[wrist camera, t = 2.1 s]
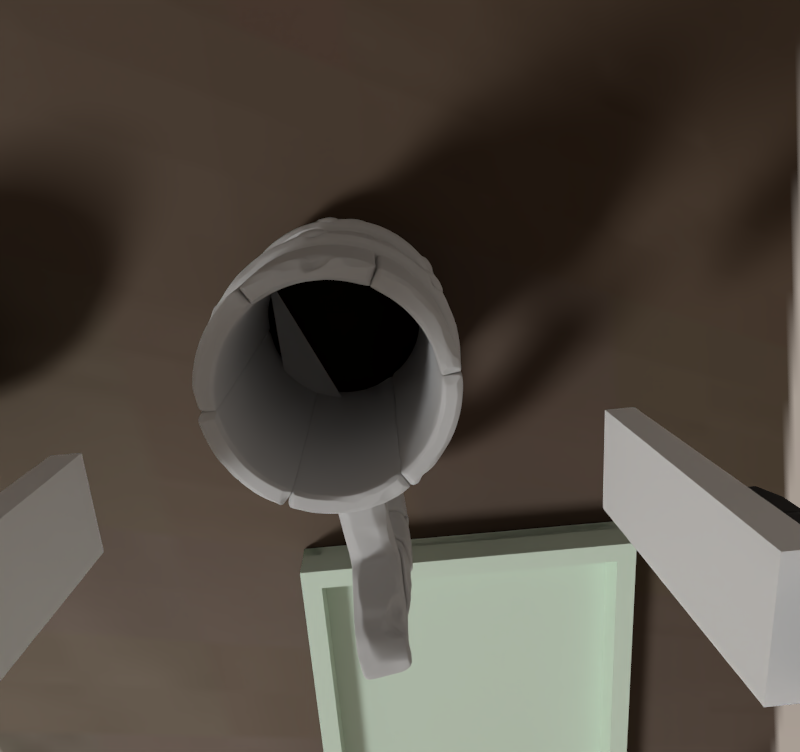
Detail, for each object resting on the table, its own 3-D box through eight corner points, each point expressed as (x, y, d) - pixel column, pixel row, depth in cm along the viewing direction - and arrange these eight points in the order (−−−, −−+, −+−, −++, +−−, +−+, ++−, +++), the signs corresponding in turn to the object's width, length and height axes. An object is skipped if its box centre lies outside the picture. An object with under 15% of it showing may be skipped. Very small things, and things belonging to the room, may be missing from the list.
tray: (304, 548, 26) (300, 573, 24) (619, 520, 26) (636, 542, 25) (343, 851, 31) (342, 889, 29) (607, 823, 31) (621, 859, 30)
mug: (420, 196, 22) (478, 184, 11) (474, 478, 25) (563, 702, 14) (221, 240, 22) (62, 275, 11) (301, 515, 25) (246, 769, 14)
